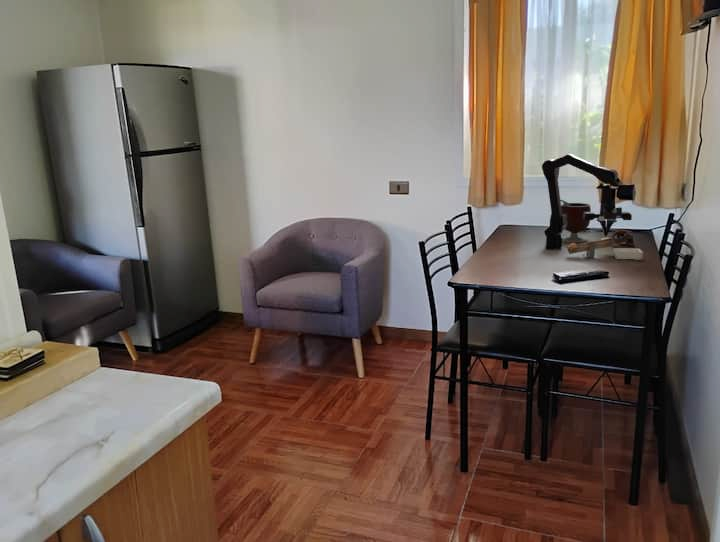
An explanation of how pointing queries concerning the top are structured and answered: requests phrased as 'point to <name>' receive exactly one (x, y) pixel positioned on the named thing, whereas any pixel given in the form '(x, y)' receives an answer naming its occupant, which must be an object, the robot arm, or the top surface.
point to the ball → (572, 245)
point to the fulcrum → (590, 254)
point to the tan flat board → (592, 245)
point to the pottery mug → (623, 237)
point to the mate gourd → (575, 220)
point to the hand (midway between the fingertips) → (605, 236)
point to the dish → (627, 253)
